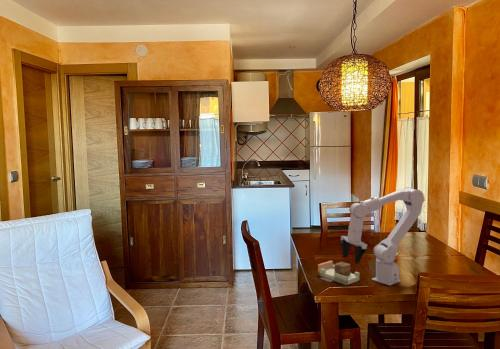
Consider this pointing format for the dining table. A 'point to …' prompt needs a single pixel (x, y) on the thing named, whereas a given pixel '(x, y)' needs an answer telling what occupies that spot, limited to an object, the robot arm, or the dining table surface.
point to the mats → (326, 279)
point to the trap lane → (329, 272)
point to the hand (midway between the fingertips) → (350, 260)
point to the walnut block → (342, 269)
